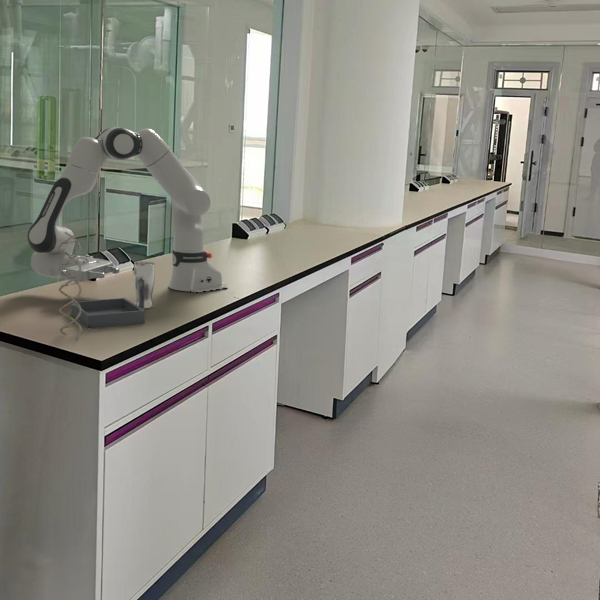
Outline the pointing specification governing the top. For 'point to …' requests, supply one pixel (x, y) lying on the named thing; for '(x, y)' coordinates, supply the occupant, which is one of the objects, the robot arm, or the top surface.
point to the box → (107, 312)
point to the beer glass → (144, 283)
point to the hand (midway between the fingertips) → (111, 273)
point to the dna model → (71, 284)
